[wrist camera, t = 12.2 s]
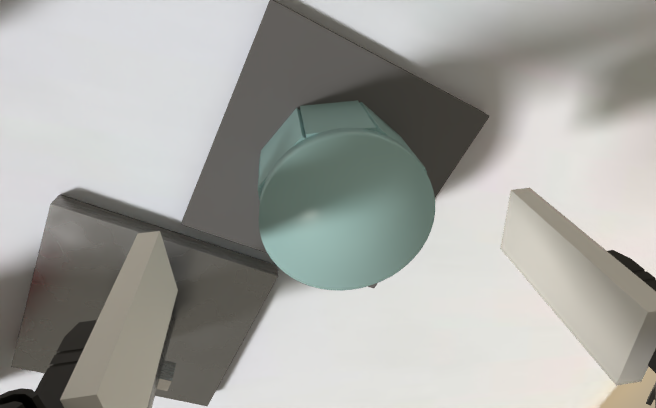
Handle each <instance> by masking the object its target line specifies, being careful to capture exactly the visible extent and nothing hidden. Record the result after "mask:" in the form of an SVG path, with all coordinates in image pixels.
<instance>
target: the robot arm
mask: <svg viewBox="0 0 656 408" xmlns="http://www.w3.org/2000/svg"><path fill="white" fill-rule="evenodd" d="M500 249H501V250H502V251H503V252H504V254H505V255H506V256H507V257H508V258H509V259H510V261H511V262H512V263H513V264H514V265H515V267H516V268H517V269H518V270H519V271H520V272H521V274H522V275H523V276H524V277H525V278H526V280H527V281H528V282H529V283H530V284H531V285H532V287H533V288H534V289H535V290H536V291H537V293H538V294H539V295H540V296H541V297H542V298H543V300H544V301H545V302H546V303H547V304H548V306H549V307H550V308H551V309H552V310H553V311H554V313H555V314H556V315H557V316H558V317H559V319H560V320H561V321H562V322H563V323H564V324H565V326H566V327H567V328H568V329H569V330H570V331H571V333H572V334H573V335H574V336H575V337H576V339H577V340H578V341H579V342H580V343H581V344H582V346H583V347H584V348H585V349H586V350H587V352H588V353H589V354H590V355H591V356H592V357H593V359H594V360H595V361H596V362H597V363H598V365H599V366H600V367H601V368H602V369H603V370H604V372H605V373H606V374H607V375H608V376H609V378H610V379H611V380H612V381H613V382H614V383H615V385H622V384H628V383H634V382H639V381H642V379H643V377H644V375H645V372H646V371H647V368H648V366H649V367H650V368H651V369H652V370H653V371H654V372H655V373H656V280H655V277H653V276H652V275H651V274H649V273H648V272H645V271H644V269H643V268H642V267H641V266H639V265H638V264H637V263H636V262H634V261H633V260H632V259H630V258H628V257H626V256H624V255H622V254H620V253H618V252H616V251H614V250H610V251H606V250H605V249H604V248H602V247H601V246H600V245H599V244H597V243H596V242H595V241H594V240H593V239H591V238H590V237H589V236H588V235H587V234H585V233H584V232H583V231H582V230H580V229H579V228H578V227H577V226H576V225H574V224H573V223H572V222H571V221H570V220H568V219H567V218H566V217H565V216H563V215H562V214H561V213H560V212H559V211H557V210H556V209H555V208H554V207H553V206H551V205H550V204H549V203H548V202H546V201H545V200H544V199H543V198H542V197H540V196H539V195H538V194H537V193H536V192H534V191H533V190H532V189H531V188H524V189H516V190H511V193H510V198H509V204H508V209H507V215H506V220H505V226H504V231H503V237H502V242H501V248H500ZM177 292H178V289H177V286H176V282H175V279H174V276H173V272H172V269H171V266H170V262H169V259H168V256H167V252H166V249H165V246H164V242H163V239H162V236H161V233H160V231H154V232H146V233H138V234H137V236H136V238H135V240H134V243H133V245H132V247H131V249H130V251H129V253H128V255H127V258H126V260H125V262H124V264H123V266H122V268H121V270H120V273H119V275H118V277H117V279H116V281H115V283H114V285H113V287H112V290H111V292H110V294H109V296H108V298H107V300H106V302H105V305H104V307H103V309H102V311H101V313H100V315H99V317H98V320H92V321H85V322H79V323H78V324H77V325H76V326H75V327H74V328H73V329H72V330H71V331H70V332H69V333H68V334H67V335H66V336H65V337H64V338H63V340H62V342H61V344H60V346H59V348H58V350H57V352H56V355H54V357H53V359H52V361H51V363H50V367H49V368H47V370H46V372H45V374H44V376H43V378H42V380H41V381H40V383H39V385H38V387H37V389H36V391H35V392H34V391H33V390H31V389H17V390H13V391H8V392H6V393H4V394H2V395H0V408H147V407H148V403H149V399H150V395H151V391H152V387H153V384H154V380H155V376H156V372H157V368H158V364H159V361H160V357H161V353H162V349H163V345H164V342H165V338H166V334H167V330H168V326H169V322H170V319H171V315H172V311H173V307H174V303H175V299H176V296H177ZM654 399H655V407H656V383H655V385H654V387H653V389H652V391H651V393H650V395H649V397H648V399H647V402H646V404H648V405H651V404H652V402H653V400H654Z"/></svg>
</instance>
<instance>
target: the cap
mask: <svg viewBox="0 0 656 408" xmlns="http://www.w3.org/2000/svg"><path fill="white" fill-rule="evenodd" d="M258 195H259V201H260V205H259V231H260V235H261V239H262V242H263V245H264V247H265V249H266V251H267V253H268V254H269V256H270V258H271V259H272V260H273V261H274V263H275V264H276V265H277V266H278V267H279V268H280V269H281V270H282V271H283V272H284V273H286V274H287V275H289V276H290V277H292V278H293V279H295V280H297V281H299V282H301V283H304V284H306V285H309V286H312V287H316V288H320V289H327V290H352V289H358V288H363V287H366V286H370V285H373V284H375V283H378V282H381V281H383V280H385V279H387V278H389V277H390V276H392V275H394V274H395V273H397V272H398V271H400V270H401V269H402V268H404V267H405V266H406V265H407V264H408V263H409V262H410V261H411V260H412V259H413V258H414V257H415V256H416V255H417V254H418V252H419V251H420V250H421V248H422V247H423V245H424V243H425V242H426V240H427V238H428V236H429V234H430V231H431V228H432V225H433V221H434V215H435V197H434V191H433V188H432V185H431V182H430V180H429V178H428V176H427V171H426V170H425V167H424V165H423V164H422V163H421V162H420V160H419V159H418V158H417V157H416V155H415V154H414V153H413V151H412V150H411V149H410V148H409V146H408V145H407V144H406V143H405V141H404V140H403V139H402V137H401V136H400V135H399V134H397V133H396V132H395V131H394V130H393V129H392V128H391V127H389V126H388V125H387V124H386V123H385V122H384V121H383V120H382V119H380V118H379V117H378V116H377V115H376V114H375V113H374V112H373V111H371V110H370V109H369V108H368V107H367V106H366V105H365V104H363V103H362V102H360V103H359V101H358V100H356V101H346V102H336V103H325V104H315V105H305V106H300V110H299V109H298V108H296V109H295V110H294V111H293V113H292V114H291V115H290V116H289V117H288V119H287V120H286V121H285V122H284V123H283V125H282V126H281V127H280V128H279V129H278V131H277V132H276V133H275V134H274V136H273V137H272V138H271V139H270V140H269V142H268V143H267V144H266V145H265V146H264V148H263V149H262V150H261V154H260V162H259V178H258Z"/></svg>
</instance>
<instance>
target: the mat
mask: <svg viewBox="0 0 656 408" xmlns="http://www.w3.org/2000/svg"><path fill="white" fill-rule="evenodd" d="M356 100H358V101H359V103H360V102H362V103H363V104H365V105H366V106H367V107H368V108H369V109H370V110H371V111H373V112H374V113H375V114H376V115H377V116H378V117H379V118H380V119H382V120H383V121H384V122H385V123H386V124H387V125H388V126H389V127H391V128H392V129H393V130H394V131H395V132H396V133H397V134H399V135H400V136H401V137H402V139H403V140H404V141H405V143H406V144H407V145H408V146H409V148H410V149H411V150H412V151H413V153H414V154H415V155H416V157H417V158H418V159H419V160H420V162H421V163H422V164H423V165H424V167H425V170H426V171H427V176H428V178H429V180H430V182H431V185H432V188H433V191H434V197H436V195H437V194H438V192H439V191H440V189H441V188H442V186H443V185H444V183H445V182H446V180H447V179H448V177H449V176H450V174H451V173H452V171H453V170H454V168H455V167H456V165H457V164H458V162H459V161H460V159H461V158H462V156H463V155H464V153H465V152H466V150H467V149H468V148H469V146H470V145H471V143H472V142H473V140H474V139H475V137H476V136H477V134H478V133H479V131H480V130H481V128H482V127H483V125H484V124H485V122H486V121H487V119H488V118H489V115H487V114H485V113H484V112H482V111H480V110H478V109H476V108H475V107H473V106H471V105H469V104H467V103H465V102H463V101H461V100H460V99H458V98H456V97H454V96H452V95H450V94H448V93H446V92H445V91H443V90H441V89H439V88H437V87H435V86H433V85H431V84H430V83H428V82H426V81H424V80H422V79H420V78H418V77H416V76H415V75H413V74H411V73H409V72H407V71H405V70H403V69H401V68H400V67H398V66H396V65H394V64H392V63H390V62H388V61H386V60H385V59H383V58H381V57H379V56H377V55H375V54H373V53H371V52H370V51H368V50H366V49H364V48H362V47H360V46H358V45H356V44H355V43H353V42H351V41H349V40H347V39H345V38H343V37H342V36H340V35H338V34H336V33H334V32H332V31H330V30H328V29H327V28H325V27H323V26H321V25H319V24H317V23H315V22H313V21H312V20H310V19H308V18H306V17H304V16H302V15H300V14H298V13H297V12H295V11H293V10H291V9H289V8H287V7H285V6H283V5H282V4H280V3H278V2H276V1H274V0H270V1H269V4H268V6H267V9H266V11H265V14H264V16H263V19H262V21H261V24H260V26H259V29H258V31H257V34H256V36H255V39H254V41H253V44H252V46H251V49H250V51H249V54H248V57H247V59H246V62H245V64H244V67H243V69H242V72H241V74H240V77H239V79H238V82H237V84H236V87H235V89H234V92H233V94H232V97H231V99H230V102H229V104H228V107H227V109H226V112H225V114H224V117H223V119H222V122H221V124H220V127H219V129H218V132H217V134H216V137H215V139H214V142H213V145H212V147H211V150H210V152H209V155H208V157H207V160H206V162H205V165H204V167H203V170H202V172H201V175H200V177H199V180H198V182H197V185H196V187H195V190H194V192H193V195H192V197H191V200H190V202H189V205H188V207H187V210H186V212H185V215H184V217H183V220H182V223H181V224H182V225H185V226H188V227H191V228H194V229H197V230H200V231H203V232H206V233H209V234H212V235H215V236H218V237H221V238H224V239H227V240H230V241H233V242H236V243H239V244H242V245H245V246H248V247H251V248H254V249H257V250H260V251H263V252H266V253H267V251H266V249H265V247H264V245H263V242H262V239H261V235H260V231H259V205H260V201H259V195H258V178H259V162H260V154H261V150H262V149H263V148H264V146H265V145H266V144H267V143H268V142H269V140H270V139H271V138H272V137H273V136H274V134H275V133H276V132H277V131H278V129H279V128H280V127H281V126H282V125H283V123H284V122H285V121H286V120H287V119H288V117H289V116H290V115H291V114H292V113H293V111H294V110H295V109H296V108H298V109H299V110H300V106H305V105H315V104H325V103H336V102H346V101H356ZM376 285H377V283H375V284H373V285H370V286H368V287H371V288H375V286H376Z"/></svg>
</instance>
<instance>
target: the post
mask: <svg viewBox="0 0 656 408" xmlns="http://www.w3.org/2000/svg"><path fill="white" fill-rule="evenodd" d="M154 231H160V233H161V236H162V239H163V242H164V246H165V249H166V252H167V256H168V259H169V262H170V266H171V269H172V272H173V276H174V279H175V282H176V286H177V289H178V292H177V296H176V299H175V303H174V307H173V311H172V315H171V319H170V322H169V326H168V330H167V334H166V338H165V342H164V345H163V349H162V353H161V357H160V361H159V364H158V368H157V372H156V376H155V380H154V384H153V387H152V391H151V395H150V399H149V403H148V407H147V408H152V405H153V401H154V397H155V396H160V397H164V398H169V399H174V400H179V401H184V402H189V403H194V404H199V405H204V406H208V404H209V402H210V400H211V399H212V397H213V395H214V393H215V391H216V389H217V388H218V386H219V384H220V382H221V380H222V378H223V376H224V375H225V373H226V371H227V369H228V367H229V365H230V364H231V362H232V360H233V358H234V356H235V354H236V352H237V351H238V349H239V347H240V345H241V343H242V341H243V340H244V338H245V336H246V334H247V332H248V330H249V329H250V327H251V325H252V323H253V321H254V319H255V317H256V316H257V314H258V312H259V310H260V308H261V306H262V305H263V303H264V301H265V299H266V297H267V295H268V294H269V292H270V290H271V288H272V286H273V284H274V282H275V281H276V279H277V277H278V266H277V265H274V264H271V263H268V262H265V261H262V260H259V259H256V258H253V257H250V256H247V255H244V254H240V253H237V252H234V251H231V250H228V249H225V248H222V247H219V246H216V245H213V244H210V243H207V242H204V241H201V240H197V239H194V238H191V237H188V236H185V235H182V234H179V233H176V232H173V231H170V230H167V229H164V228H161V227H157V226H154V225H151V224H148V223H145V222H142V221H139V220H136V219H133V218H130V217H127V216H124V215H121V214H117V213H114V212H111V211H108V210H105V209H102V208H99V207H96V206H93V205H90V204H87V203H84V202H81V201H77V200H74V199H71V198H68V197H65V196H62V195H59V196H58V197H57V198H56V199H55V200H54V201H53V202H52V203H51V204H50V208H49V213H48V217H47V221H46V225H45V229H44V233H43V237H42V242H41V246H40V250H39V254H38V258H37V262H36V266H35V271H34V275H33V279H32V283H31V287H30V291H29V295H28V299H27V304H26V308H25V312H24V316H23V320H22V324H21V328H20V333H19V337H18V341H17V345H16V349H15V353H14V357H13V362H12V366H11V367H16V368H21V369H26V370H31V371H36V372H41V373H45V372H46V370H47V368H49V367H50V363H51V361H52V359H53V357H54V355H56V352H57V350H58V348H59V346H60V344H61V342H62V340H63V338H64V337H65V336H66V335H67V334H68V333H69V332H70V331H71V330H72V329H73V328H74V327H75V326H76V325H77V324H78V323H79V322H85V321H92V320H98V317H99V315H100V313H101V311H102V309H103V307H104V305H105V302H106V300H107V298H108V296H109V294H110V292H111V290H112V287H113V285H114V283H115V281H116V279H117V277H118V275H119V273H120V270H121V268H122V266H123V264H124V262H125V260H126V258H127V255H128V253H129V251H130V249H131V247H132V245H133V243H134V240H135V238H136V236H137V234H138V233H146V232H154Z"/></svg>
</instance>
